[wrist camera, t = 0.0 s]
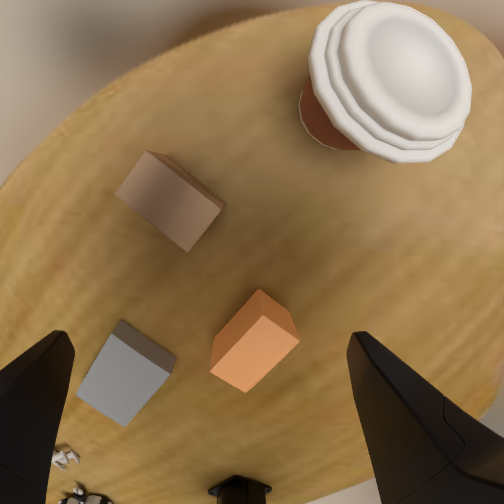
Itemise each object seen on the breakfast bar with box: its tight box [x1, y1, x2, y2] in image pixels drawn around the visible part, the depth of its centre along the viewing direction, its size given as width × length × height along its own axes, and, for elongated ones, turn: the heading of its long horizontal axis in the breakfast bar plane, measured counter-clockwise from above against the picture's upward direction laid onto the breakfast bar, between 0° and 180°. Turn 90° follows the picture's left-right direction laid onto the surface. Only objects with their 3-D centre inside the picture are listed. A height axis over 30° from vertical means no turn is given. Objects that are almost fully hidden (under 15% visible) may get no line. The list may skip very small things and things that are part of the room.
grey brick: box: [76, 320, 176, 427], centre depth 25 cm, size 10×6×3 cm, turn 142°
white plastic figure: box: [52, 450, 80, 470], centre depth 28 cm, size 8×5×12 cm
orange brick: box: [209, 288, 300, 393], centre depth 23 cm, size 6×3×5 cm, turn 140°
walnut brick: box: [115, 150, 225, 253], centre depth 20 cm, size 6×3×5 cm, turn 51°
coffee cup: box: [298, 0, 472, 163], centre depth 15 cm, size 9×9×12 cm
